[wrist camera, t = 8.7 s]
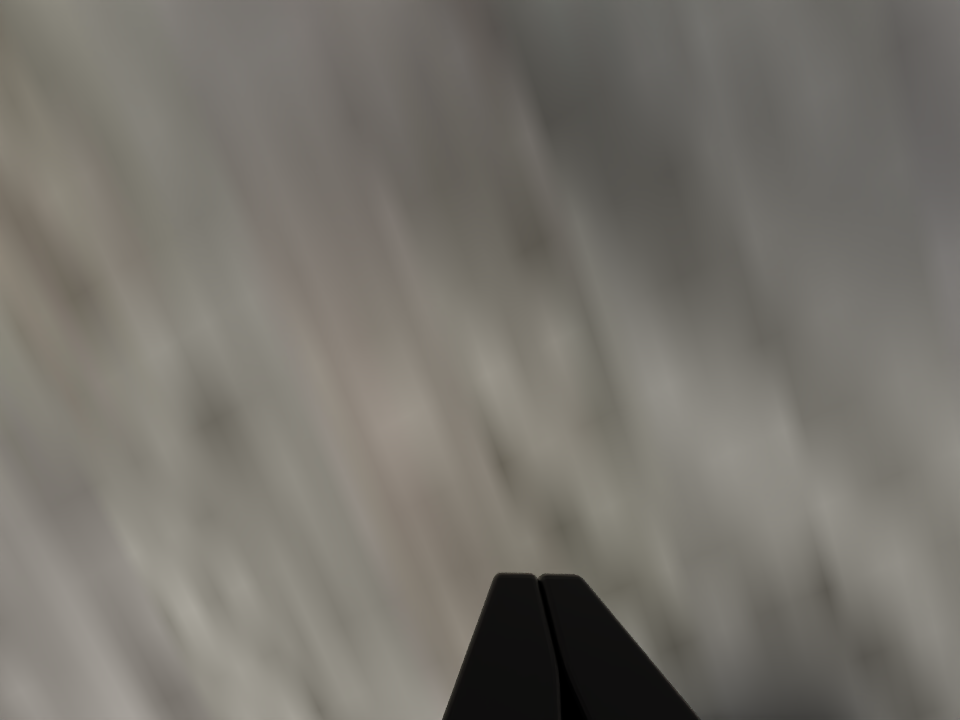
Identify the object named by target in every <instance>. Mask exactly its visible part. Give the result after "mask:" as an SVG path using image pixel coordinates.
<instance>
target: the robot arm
mask: <svg viewBox="0 0 960 720" xmlns="http://www.w3.org/2000/svg"><path fill="white" fill-rule="evenodd" d="M442 720H701V719H700V718H699V717H698V716H697V715H696V713H695V712H694V711H693V710H692V709H691V707H690V706H689V705H688V704H687V703H686V701H685V700H684V699H683V698H682V697H681V695H680V694H679V693H678V692H677V691H676V689H675V688H674V687H673V686H672V685H671V683H670V682H669V681H668V680H667V679H666V677H665V676H664V675H663V674H662V673H661V672H660V670H659V669H658V668H657V667H656V666H655V664H654V663H653V662H652V661H651V660H650V658H649V657H648V656H647V655H646V654H645V652H644V651H643V650H642V649H641V648H640V646H639V645H638V644H637V643H636V642H635V640H634V639H633V638H632V637H631V636H630V634H629V633H628V632H627V631H626V630H625V628H624V627H623V626H622V625H621V624H620V622H619V621H618V620H617V619H616V618H615V616H614V615H613V614H612V613H611V612H610V610H609V609H608V608H607V607H606V606H605V604H604V603H603V602H602V601H601V600H600V598H599V597H598V596H597V595H596V594H595V592H594V591H593V590H592V589H591V588H590V586H589V585H588V584H587V583H586V582H585V580H584V579H583V578H581V577H580V576H578V575H575V574H542V575H541V576H539V577H538V579H537V577H536V576H535V575H533V574H531V573H498V574H496V576H495V577H494V579H493V581H492V584H491V587H490V589H489V592H488V595H487V598H486V600H485V603H484V606H483V609H482V611H481V614H480V617H479V620H478V622H477V625H476V628H475V631H474V633H473V636H472V639H471V642H470V644H469V647H468V650H467V653H466V655H465V658H464V661H463V664H462V666H461V669H460V672H459V675H458V677H457V680H456V683H455V686H454V688H453V691H452V694H451V697H450V699H449V702H448V705H447V708H446V710H445V713H444V716H443V719H442Z"/></svg>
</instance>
